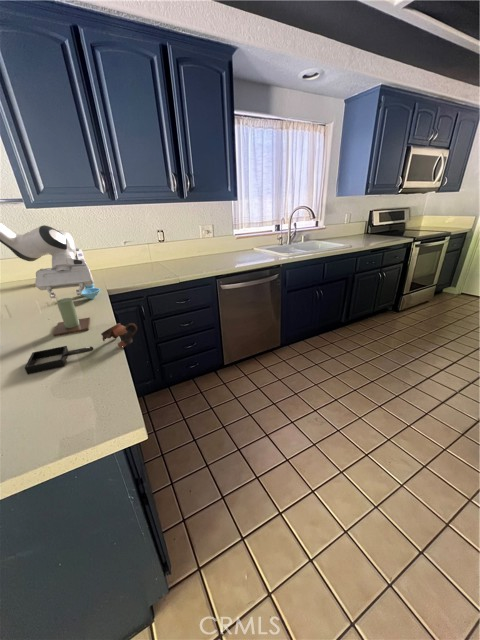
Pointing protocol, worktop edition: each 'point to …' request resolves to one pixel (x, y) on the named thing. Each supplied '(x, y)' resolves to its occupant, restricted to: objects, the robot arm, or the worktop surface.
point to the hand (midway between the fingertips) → (66, 296)
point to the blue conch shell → (90, 291)
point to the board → (81, 327)
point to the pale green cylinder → (68, 312)
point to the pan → (50, 365)
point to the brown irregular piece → (121, 333)
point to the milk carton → (79, 254)
